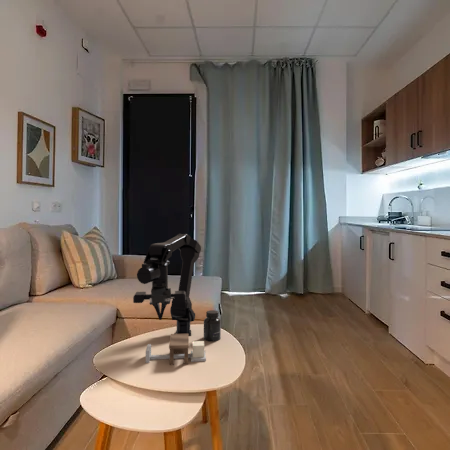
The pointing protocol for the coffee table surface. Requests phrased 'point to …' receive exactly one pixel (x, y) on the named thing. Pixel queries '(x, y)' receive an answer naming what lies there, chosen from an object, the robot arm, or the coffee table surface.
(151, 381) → the coffee table surface
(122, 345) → the coffee table surface
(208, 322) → the supplement bottle
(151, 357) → the grey flanged bar
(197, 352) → the cream block
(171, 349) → the walnut tunnel
